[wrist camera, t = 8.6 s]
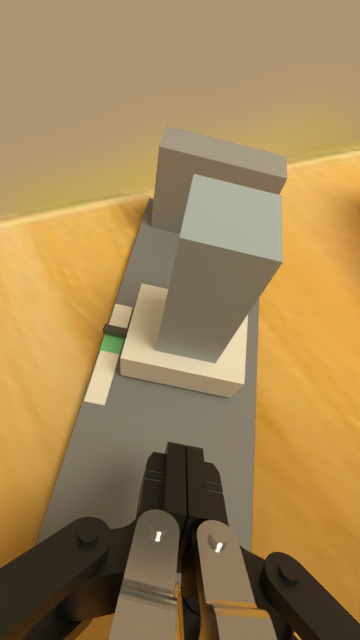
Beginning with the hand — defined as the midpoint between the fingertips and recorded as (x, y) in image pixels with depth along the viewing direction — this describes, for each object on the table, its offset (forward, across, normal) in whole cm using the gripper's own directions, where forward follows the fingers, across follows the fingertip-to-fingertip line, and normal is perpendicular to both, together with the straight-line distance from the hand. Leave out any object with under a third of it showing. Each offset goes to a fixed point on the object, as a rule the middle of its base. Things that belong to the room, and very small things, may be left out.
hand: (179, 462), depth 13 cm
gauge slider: (+14, +1, -4) cm, 15 cm away
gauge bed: (+14, 0, -1) cm, 14 cm away
